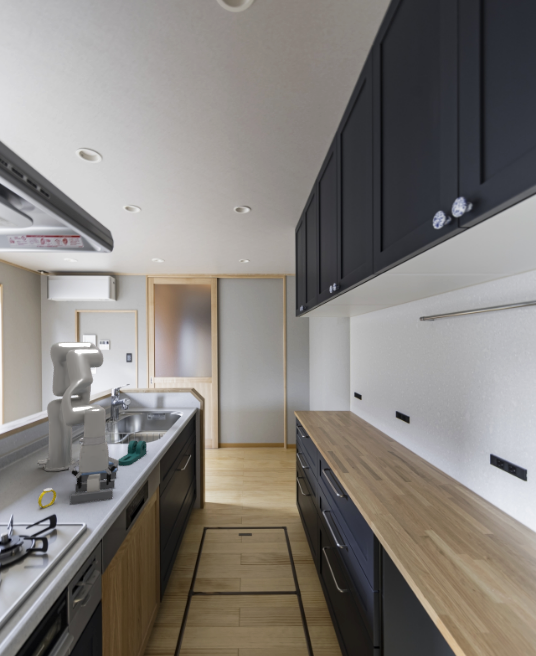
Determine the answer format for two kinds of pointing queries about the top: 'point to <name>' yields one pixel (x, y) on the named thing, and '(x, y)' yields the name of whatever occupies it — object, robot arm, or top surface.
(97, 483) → the off-white rectangular prism
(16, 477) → the top surface
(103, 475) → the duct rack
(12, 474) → the top surface
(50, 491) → the watch
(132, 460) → the bracket
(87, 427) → the robot arm
